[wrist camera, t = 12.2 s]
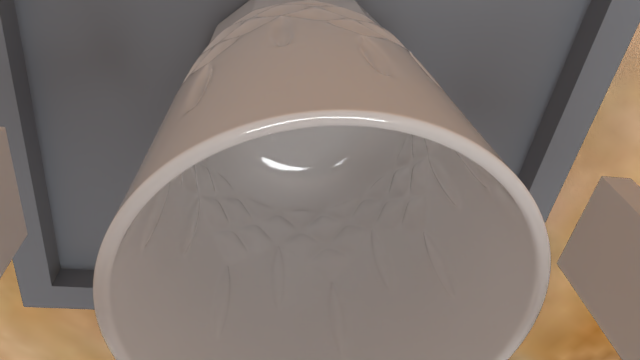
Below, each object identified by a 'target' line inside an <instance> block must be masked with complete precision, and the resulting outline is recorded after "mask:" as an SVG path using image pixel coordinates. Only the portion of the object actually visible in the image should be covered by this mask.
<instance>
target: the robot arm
mask: <svg viewBox="0 0 640 360" xmlns="http://www.w3.org/2000/svg"><path fill="white" fill-rule="evenodd" d="M26 236H27V229H26V225H25V220H24V215H23V210H22V206H21V201H20V196H19V191H18V186H17V182H16V177H15V172H14V167H13V163H12V158H11V153H10V148H9V143H8V139H7V134H6V129H5V127H0V278H1V276H2V275H3V273H4V271H5V270H6V268H7V267H8V265H9V263H10V262H11V260H12V259H13V257H14V255H15V254H16V252H17V250H18V249H19V247H20V246H21V244H22V242H23V241H24V239H25V238H26ZM557 265H558V266H559V268H560V269H561V270H562V272H563V273H564V275H565V276H566V278H567V279H568V281H569V282H570V284H571V285H572V287H573V288H574V290H575V291H576V293H577V294H578V296H579V297H580V299H581V300H582V301H583V303H584V304H585V306H586V307H587V309H588V310H589V312H590V313H591V315H592V316H593V318H594V319H595V321H596V322H597V324H598V325H599V327H600V328H601V329H602V331H603V332H604V334H605V335H606V337H607V338H608V340H609V341H610V343H611V344H612V346H613V347H614V349H615V350H616V352H617V353H618V355H619V356H620V358H621V359H622V360H640V187H639V186H638V185H637V184H636V183H635V182H634V181H633V180H632V179H630V178H618V177H605V176H601V178H600V180H599V182H598V184H597V186H596V188H595V190H594V192H593V194H592V196H591V198H590V200H589V202H588V204H587V205H586V207H585V209H584V211H583V213H582V215H581V217H580V219H579V221H578V223H577V225H576V227H575V229H574V231H573V233H572V235H571V237H570V239H569V240H568V242H567V244H566V246H565V248H564V250H563V252H562V254H561V256H560V258H559V260H558V262H557Z"/></svg>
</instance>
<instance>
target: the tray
mask: <svg viewBox="0 0 640 360" xmlns="http://www.w3.org/2000/svg"><path fill="white" fill-rule="evenodd" d="M248 1H249V0H0V127H5V129H6V134H7V139H8V143H9V148H10V153H11V158H12V163H13V167H14V172H15V177H16V182H17V186H18V191H19V196H20V201H21V206H22V210H23V215H24V220H25V225H26V229H27V236H26V238H25V239H24V241H23V242H22V244H21V246H20V247H19V249H18V250H17V252H16V254H15V255H14V257H13V263H14V268H15V272H16V276H17V280H18V284H19V289H20V293H21V297H22V301H23V306H24V307H42V308H70V309H95V308H94V300H93V277H94V269H95V264H96V260H97V256H98V252H99V249H100V246H101V244H102V241H103V239H104V236H105V234H106V232H107V230H108V228H109V226H110V224H111V222H112V220H113V218H114V216H115V214H116V212H117V210H118V208H119V206H120V204H121V202H122V200H123V198H124V197H125V195H126V193H127V191H128V189H129V187H130V185H131V183H132V181H133V179H134V177H135V175H136V173H137V171H138V169H139V167H140V165H141V163H142V161H143V159H144V157H145V155H146V153H147V151H148V149H149V147H150V145H151V143H152V141H153V139H154V137H155V135H156V133H157V131H158V129H159V127H160V125H161V123H162V121H163V119H164V117H165V115H166V113H167V111H168V109H169V107H170V105H171V103H172V101H173V99H174V97H175V95H176V93H177V91H178V89H179V88H180V86H181V85H182V83H183V81H184V80H185V78H186V76H187V74H188V73H189V71H190V69H191V67H192V65H193V64H194V62H195V61H196V60H197V58H198V57H199V56H200V55H201V53H202V52H203V51H204V50H205V49H206V47H207V46H208V44H209V42H210V40H211V37H212V35H213V33H214V31H215V29H216V27H217V25H218V24H219V23H220V22H222V21H223V20H224V19H225V18H227V17H228V16H229V15H231V14H232V13H233V12H235V11H236V10H237V9H238V8H240V7H241V6H242V5H244V4H245V3H246V2H248ZM355 1H356V2H357V3H358V4H359V5H360V6H361V7H362V8H364V9H365V10H366V11H367V12H368V13H369V14H370V15H371V16H372V17H373V18H374V19H375V20H376V21H377V22H378V23H379V24H380V25H381V26H382V27H383V28H384V29H386V30H388V31H389V32H390V33H392V34H393V35H394V36H395V37H396V38H397V39H398V40H399V41H400V42H401V43H402V44H403V45H404V46H405V48H406V49H408V50H409V51H410V52H411V53H412V54H413V55H414V56H415V58H416V59H417V60H418V61H419V62H420V63H421V64H422V65H423V66H424V67H425V68H426V70H427V71H428V72H429V73H430V74H431V75H432V76H433V78H434V79H435V80H436V81H437V82H438V84H439V85H440V86H441V87H442V88H443V90H444V91H445V92H446V93H447V94H448V96H449V97H450V98H451V99H452V100H453V102H454V103H455V104H456V105H457V106H458V108H459V109H460V110H461V111H462V112H463V114H464V115H465V116H466V117H467V118H468V120H469V121H470V122H471V123H472V124H473V125H474V127H475V128H476V129H477V130H478V131H479V133H480V134H481V135H482V136H483V137H484V138H485V140H486V141H487V142H488V143H489V144H490V145H491V147H492V148H493V149H494V150H495V151H496V152H497V154H498V155H499V156H500V157H501V158H502V159H503V161H504V162H505V163H506V164H507V165H508V166H509V167H510V169H511V170H512V171H513V172H514V173H515V174H516V176H517V177H518V178H519V179H520V180H521V181H522V183H523V184H524V185H525V187H526V188H527V189H528V191H529V192H530V194H531V195H532V197H533V199H534V200H535V202H536V204H537V206H538V208H539V210H540V212H541V215H542V217H543V220H544V223H545V222H546V220H547V218H548V215H549V213H550V211H551V209H552V207H553V205H554V203H555V201H556V198H557V196H558V194H559V192H560V190H561V188H562V186H563V184H564V181H565V179H566V177H567V175H568V173H569V171H570V169H571V167H572V164H573V162H574V160H575V158H576V156H577V154H578V152H579V150H580V148H581V145H582V143H583V141H584V139H585V137H586V135H587V133H588V131H589V128H590V126H591V124H592V122H593V120H594V118H595V116H596V114H597V111H598V109H599V107H600V105H601V103H602V101H603V99H604V97H605V94H606V92H607V90H608V88H609V86H610V84H611V82H612V80H613V77H614V75H615V73H616V71H617V69H618V67H619V65H620V63H621V61H622V58H623V56H624V54H625V52H626V50H627V48H628V46H629V44H630V41H631V39H632V37H633V35H634V33H635V31H636V29H637V27H638V24H639V22H640V0H355Z"/></svg>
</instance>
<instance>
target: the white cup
mask: <svg viewBox="0 0 640 360" xmlns="http://www.w3.org/2000/svg"><path fill="white" fill-rule="evenodd" d="M550 269H551V252H550V243H549V238H548V233H547V229H546V226H545V223H544V220H543V217H542V215H541V212H540V210H539V208H538V206H537V204H536V202H535V200H534V199H533V197H532V195H531V194H530V192H529V191H528V189H527V188H526V187H525V185H524V184H523V183H522V181H521V180H520V179H519V178H518V177H517V176H516V174H515V173H514V172H513V171H512V170H511V169H510V167H509V166H508V165H507V164H506V163H505V162H504V161H503V159H502V158H501V157H500V156H499V155H498V154H497V152H496V151H495V150H494V149H493V148H492V147H491V145H490V144H489V143H488V142H487V141H486V140H485V138H484V137H483V136H482V135H481V134H480V133H479V131H478V130H477V129H476V128H475V127H474V125H473V124H472V123H471V122H470V121H469V120H468V118H467V117H466V116H465V115H464V114H463V112H462V111H461V110H460V109H459V108H458V106H457V105H456V104H455V103H454V102H453V100H452V99H451V98H450V97H449V96H448V94H447V93H446V92H445V91H444V90H443V88H442V87H441V86H440V85H439V84H438V82H437V81H436V80H435V79H434V78H433V76H432V75H431V74H430V73H429V72H428V71H427V70H426V68H425V67H424V66H423V65H422V64H421V63H420V62H419V61H418V60H417V59H416V58H415V56H414V55H413V54H412V53H411V52H410V51H409V50H408V49H406V48H405V46H404V45H403V44H402V43H401V42H400V41H399V40H398V39H397V38H396V37H395V36H394V35H393V34H392V33H390V32H389V31H388V30H386V29H384V28H383V27H382V26H381V25H380V24H379V23H378V22H377V21H376V20H375V19H374V18H373V17H372V16H371V15H370V14H369V13H368V12H367V11H366V10H365V9H364V8H362V7H361V6H360V5H359V4H358V3H357V2H356V1H355V0H249V1H248V2H246V3H245V4H244V5H242V6H241V7H240V8H238V9H237V10H236V11H235V12H233V13H232V14H231V15H229V16H228V17H227V18H225V19H224V20H223V21H222V22H220V23H219V24H218V25H217V27H216V29H215V31H214V33H213V35H212V37H211V40H210V42H209V44H208V46H207V47H206V49H205V50H204V51H203V52H202V53H201V55H200V56H199V57H198V58H197V60H196V61H195V62H194V64H193V65H192V67H191V69H190V71H189V73H188V74H187V76H186V78H185V80H184V81H183V83H182V85H181V86H180V88H179V89H178V91H177V93H176V95H175V97H174V99H173V101H172V103H171V105H170V107H169V109H168V111H167V113H166V115H165V117H164V119H163V121H162V123H161V125H160V127H159V129H158V131H157V133H156V135H155V137H154V139H153V141H152V143H151V145H150V147H149V149H148V151H147V153H146V155H145V157H144V159H143V161H142V163H141V165H140V167H139V169H138V171H137V173H136V175H135V177H134V179H133V181H132V183H131V185H130V187H129V189H128V191H127V193H126V195H125V197H124V198H123V200H122V202H121V204H120V206H119V208H118V210H117V212H116V214H115V216H114V218H113V220H112V222H111V224H110V226H109V228H108V230H107V232H106V234H105V236H104V239H103V241H102V244H101V246H100V249H99V252H98V256H97V260H96V264H95V269H94V277H93V300H94V308H95V314H96V318H97V322H98V325H99V328H100V331H101V333H102V336H103V338H104V340H105V342H106V344H107V346H108V348H109V350H110V351H111V353H112V355H113V356H114V358H115V359H116V360H508V359H509V358H510V357H511V356H512V354H513V353H514V352H515V351H516V350H517V348H518V347H519V346H520V345H521V343H522V342H523V341H524V339H525V338H526V336H527V335H528V333H529V332H530V330H531V328H532V326H533V325H534V323H535V321H536V319H537V317H538V315H539V313H540V310H541V308H542V305H543V302H544V299H545V296H546V293H547V289H548V284H549V278H550Z"/></svg>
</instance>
